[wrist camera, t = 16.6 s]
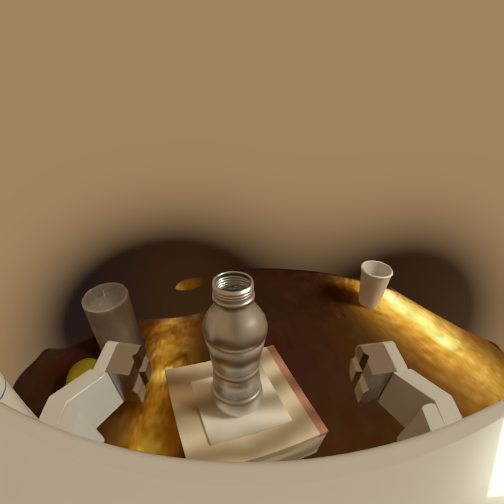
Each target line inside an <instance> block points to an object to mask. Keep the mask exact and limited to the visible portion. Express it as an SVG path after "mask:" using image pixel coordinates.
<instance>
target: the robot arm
mask: <svg viewBox="0 0 504 504" xmlns="http://www.w3.org/2000/svg"><path fill="white" fill-rule="evenodd" d="M145 354H146V350H145V347H144V346H143V345H137V344H129V343H122V342H115V341H108V342H107V343H106V344H105V346H104V348H103V350H102V352H101V354H100V356H99V358H98V360H97V362H96V364H95V366H94V368H93V370H91V369H90V370H88V371H87V372H85V373H84V374H82V375H81V376H79V377H78V378H76V379H75V380H73V381H72V382H70V383H69V384H67V385H66V386H64V387H63V388H61V389H60V390H58V391H57V392H55V393H54V394H52V395H51V396H50V397H49V399H48V401H47V403H46V405H45V407H44V409H43V411H42V413H41V415H40V418H39V420H37V419H34V418H32V417H30V416H28V415H25V414H23V413H21V412H19V411H17V410H15V409H13V408H11V407H9V406H7V405H5V404H3V403H1V402H0V504H504V399H502V400H500V401H498V402H496V403H494V404H492V405H491V406H489V407H487V408H485V409H483V410H481V411H478V412H476V413H474V414H472V415H470V416H468V417H465V418H462V416H461V414H460V412H459V410H458V408H457V406H456V404H455V402H454V400H453V398H452V396H451V395H449V394H448V393H446V392H445V391H443V390H442V389H440V388H439V387H437V386H436V385H434V384H433V383H431V382H430V381H428V380H427V379H425V378H424V377H422V376H421V375H419V374H418V373H416V372H415V371H413V370H412V369H408V368H407V366H406V364H405V362H404V360H403V358H402V356H401V355H400V353H399V351H398V349H397V347H396V345H395V343H394V342H393V341H388V342H381V343H372V344H364V345H358V346H357V347H356V349H355V354H356V356H355V357H354V358H353V359H352V361H351V364H350V377H351V381H352V382H353V383H354V384H356V385H357V386H356V388H355V393H356V397H357V400H358V403H363V402H370V401H376V400H378V402H379V403H380V404H381V405H382V406H383V407H384V408H385V409H386V410H387V411H388V412H389V413H390V414H391V415H392V416H393V417H394V418H396V419H397V420H398V421H399V422H400V423H401V424H402V425H403V426H404V427H405V429H404V430H403V431H402V432H401V433H400V435H399V436H398V437H397V440H398V442H395V443H391V444H388V445H384V446H380V447H375V448H371V449H367V450H362V451H357V452H352V453H346V454H340V455H334V456H327V457H320V458H312V459H302V460H290V461H273V462H224V461H207V460H195V459H185V458H177V457H170V456H163V455H157V454H151V453H145V452H140V451H135V450H131V449H126V448H122V447H117V446H113V445H110V444H106V443H104V438H103V436H102V435H101V434H100V433H99V432H98V431H97V429H96V428H97V427H98V426H99V425H100V424H101V423H102V422H103V421H104V420H105V419H106V418H107V417H108V416H109V415H110V414H112V413H113V412H114V411H115V410H116V409H117V408H118V407H119V406H120V405H121V404H122V403H123V401H128V402H135V403H142V404H143V401H144V397H145V394H146V388H145V386H144V385H146V384H147V383H148V382H149V380H150V376H151V365H150V361H149V359H148V358H147V357H145Z"/></svg>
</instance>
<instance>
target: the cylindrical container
mask: <svg viewBox="0 0 504 504" xmlns="http://www.w3.org/2000/svg"><path fill="white" fill-rule="evenodd" d="M0 402H1V403H3V404H5V405H7V406H9V407H11V408H13V409H15V410H17V411H19V412H21V413H23V414H25V415H28V416H30V417H32V418H34V419H37V420H39V419H38V418H37V417H36V416H35V415H34V414H33V412H32V411H31V410H30V409H29V408H28V407H27V406H26V404H25V403H24V402H23V401H22V400H21V398H20V397H19V396H18V395H17V393H16V392H15V391H14V390H13V388H12V387H11V386H10V384H9V383H8V382H7V380H6V379H5V378H4V376H3V375H2V374H1V372H0Z"/></svg>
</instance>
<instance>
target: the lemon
mask: <svg viewBox="0 0 504 504" xmlns="http://www.w3.org/2000/svg"><path fill="white" fill-rule="evenodd" d="M96 362H97V360H95V359H92V358H87V359H83V360H80V361H79V362H77V363H76V364H75V365H74V366H73V367H72V368H71V369H70V371H69V373H68V375H67V379H66V385H67V384H69V383H70V382H72V381H73V380H75V379H76V378H78V377H79V376H81V375H82V374H84V373H85V372H87V371H88V370H90V369H91V370H93V368H94V366H95V364H96Z"/></svg>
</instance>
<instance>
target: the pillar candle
mask: <svg viewBox="0 0 504 504" xmlns="http://www.w3.org/2000/svg"><path fill="white" fill-rule="evenodd" d="M82 307H83V309H84V311H85V314H86V316H87V319H88V321H89V323H90V326H91V328H92V331H93V333H94V335H95V338H96V340H97V342H98V344H99V346H100V349H101V351H102V350H103V348H104V346H105V344H106V343H107V342H108V341H115V342H122V343H129V344H137V345H143V346H144V341H143V339H142V337H141V334H140V331H139V327H138V324H137V321H136V318H135V314H134V311H133V308H132V304H131V301H130V297H129V294H128V290H127V289H126V287H125V286H123V285H122V284H119V283H105V284H102V285H99V286H96V287H94V288H93V289H90V290H89V291H88V292H87V293H86V294H85V295H84V297H83V299H82Z"/></svg>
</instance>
